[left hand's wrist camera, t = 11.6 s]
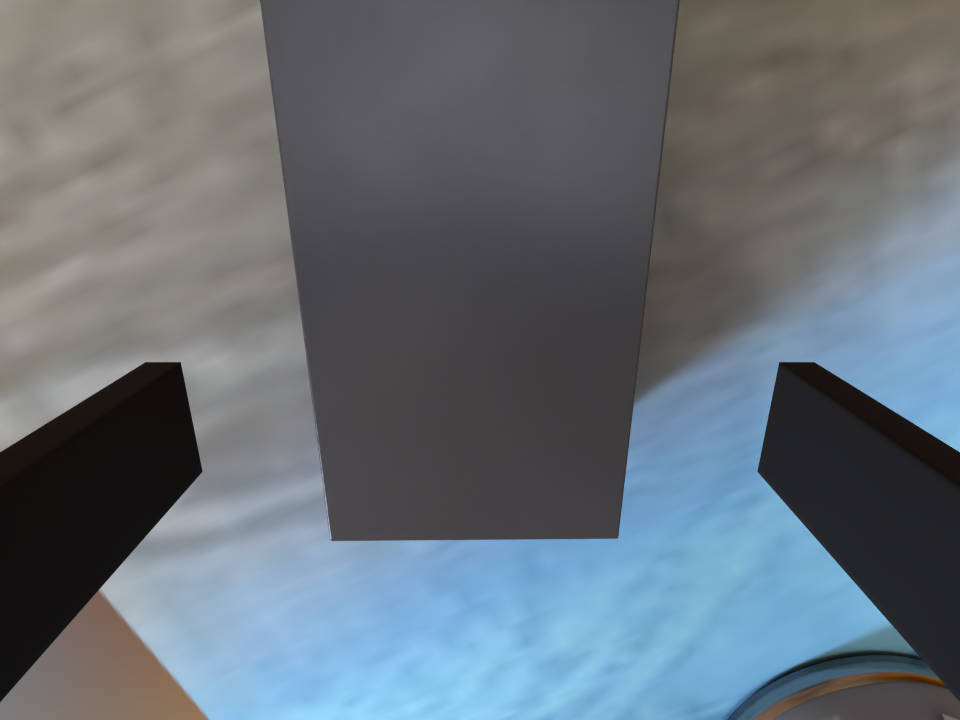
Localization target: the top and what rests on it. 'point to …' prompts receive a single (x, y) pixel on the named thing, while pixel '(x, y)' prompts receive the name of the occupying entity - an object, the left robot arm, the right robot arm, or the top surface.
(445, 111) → the slab
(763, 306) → the top surface
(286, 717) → the top surface
